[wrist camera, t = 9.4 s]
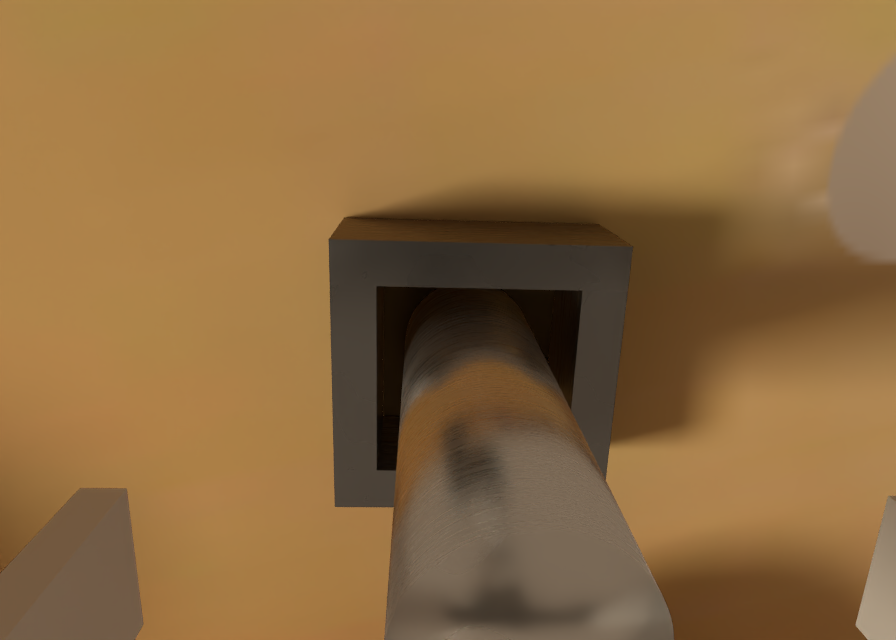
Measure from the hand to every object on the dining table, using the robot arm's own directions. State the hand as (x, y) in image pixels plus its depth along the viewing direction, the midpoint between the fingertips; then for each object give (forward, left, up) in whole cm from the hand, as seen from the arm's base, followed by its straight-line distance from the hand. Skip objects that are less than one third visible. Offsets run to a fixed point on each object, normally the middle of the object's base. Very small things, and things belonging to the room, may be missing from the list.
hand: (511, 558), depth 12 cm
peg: (0, 0, -11) cm, 11 cm away
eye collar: (0, 0, -11) cm, 11 cm away
